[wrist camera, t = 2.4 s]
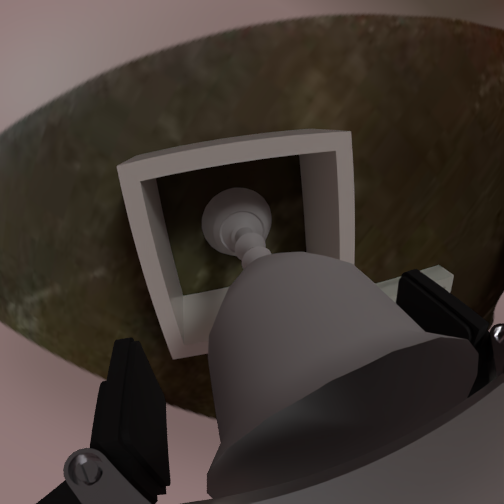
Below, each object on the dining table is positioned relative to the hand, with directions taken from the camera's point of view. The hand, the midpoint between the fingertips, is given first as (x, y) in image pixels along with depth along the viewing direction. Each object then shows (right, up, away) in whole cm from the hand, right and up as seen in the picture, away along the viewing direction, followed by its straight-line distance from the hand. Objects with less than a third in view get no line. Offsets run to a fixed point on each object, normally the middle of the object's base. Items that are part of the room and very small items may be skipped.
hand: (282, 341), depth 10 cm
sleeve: (-2, +5, +12) cm, 13 cm away
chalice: (-2, +5, +12) cm, 13 cm away
